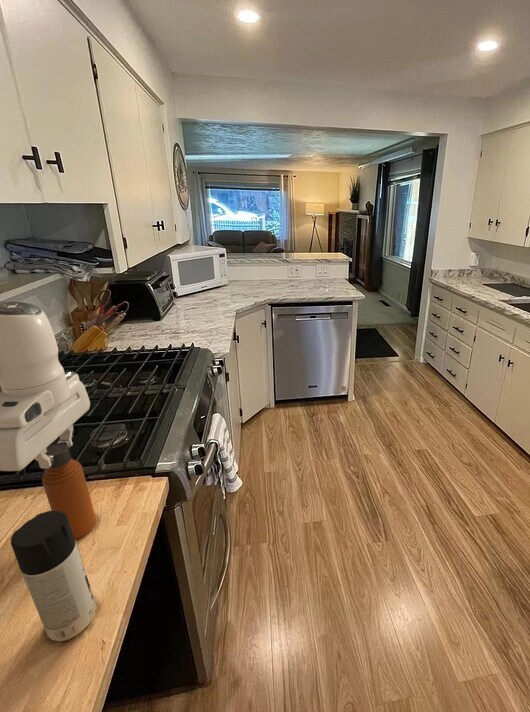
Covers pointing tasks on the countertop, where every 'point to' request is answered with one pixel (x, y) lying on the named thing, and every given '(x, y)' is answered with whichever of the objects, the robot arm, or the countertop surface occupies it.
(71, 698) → the countertop surface
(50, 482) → the bottle
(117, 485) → the countertop surface
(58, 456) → the cap
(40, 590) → the spray can
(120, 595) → the countertop surface
